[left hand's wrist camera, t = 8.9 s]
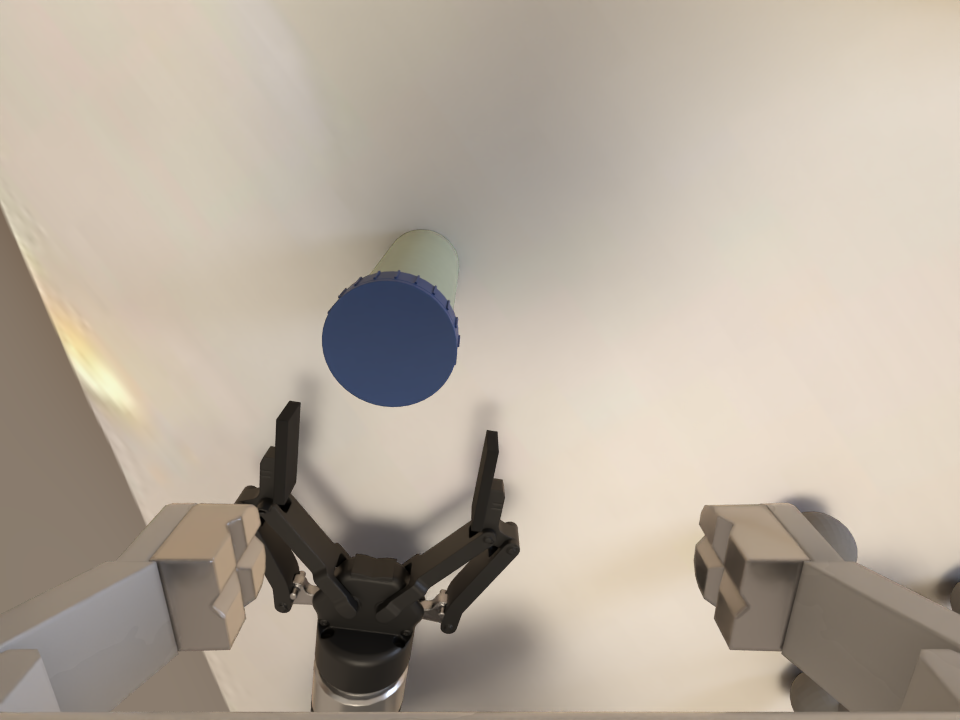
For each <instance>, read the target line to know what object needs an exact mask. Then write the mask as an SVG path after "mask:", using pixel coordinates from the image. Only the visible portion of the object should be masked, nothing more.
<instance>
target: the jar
mask: <svg viewBox="0 0 960 720" xmlns="http://www.w3.org/2000/svg"><path fill="white" fill-rule="evenodd" d="M398 270H400V272H404V273H409V274H412V275H415V276H418V275H420V278H422V279H424V280H426V281H428V282H429V283H430V284H432V285H433V286H435V285H436V286H437V289H438V290H439V291H440V292H441V293H442V294H443V295H444V296H445V297H446V299H447V300H450V305H451V307H452V309H454V301H455V294H456V287H457V280H458V273H459V261H458V257H457V253H456V251H455V249H454V248H453V246H452V245H451V243H450V242H449V241H448V240H447V239H446V238H444V237H443V236H442V235H440V234H438V233H436V232H433V231H429V230H413V231H410V232H407V233H405V234H403V235H402V236H400V237H399V238H398V239H397V240H396V241H395V242H394V243H393V245H392V246H391V247H390V249H389V250H388V251H387V253H386V254H385V255H384V257H383V258H382V259H381V260H380V262H379V263H378V264H377V266H376V267H375V268H374V270H373V271H372V272H371V274H374V273H377V272H378V271H380V272H385V271H398ZM371 274H370V275H371Z"/></svg>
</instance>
